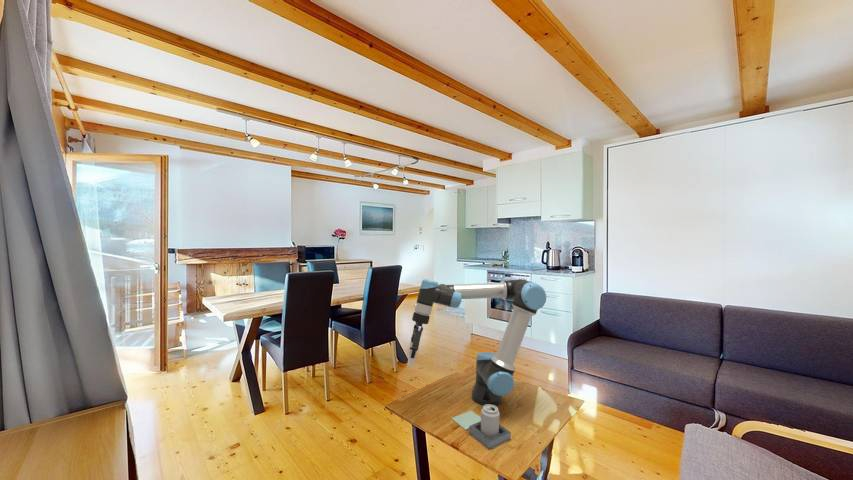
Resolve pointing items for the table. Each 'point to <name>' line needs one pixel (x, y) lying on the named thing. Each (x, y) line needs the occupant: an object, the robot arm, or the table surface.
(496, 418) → the can
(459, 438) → the table surface
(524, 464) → the table surface
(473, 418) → the mat
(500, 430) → the holder
